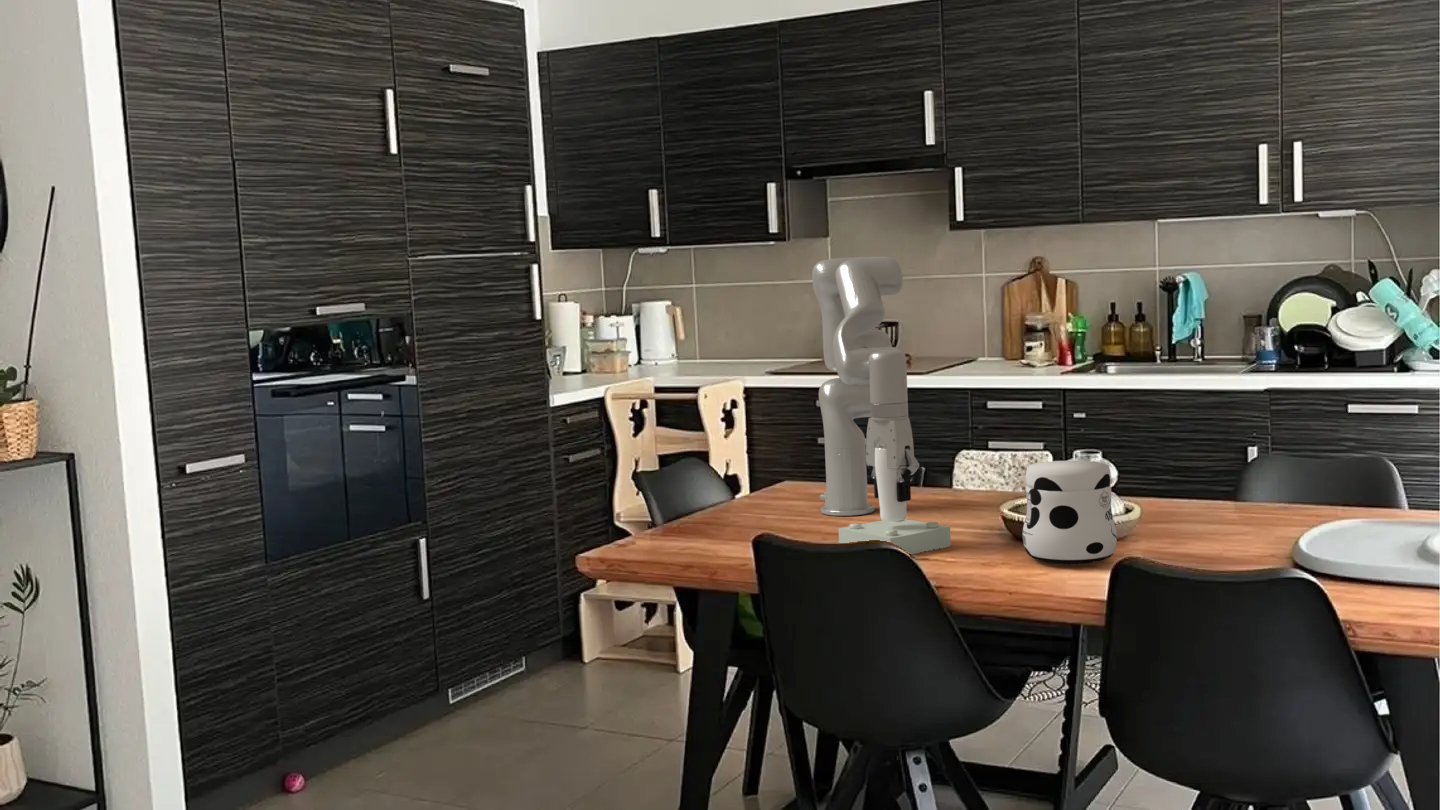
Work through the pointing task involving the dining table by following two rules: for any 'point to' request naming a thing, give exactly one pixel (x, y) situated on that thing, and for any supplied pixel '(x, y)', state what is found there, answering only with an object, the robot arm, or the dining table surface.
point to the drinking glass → (888, 489)
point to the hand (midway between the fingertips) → (892, 498)
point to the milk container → (1069, 512)
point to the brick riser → (900, 534)
